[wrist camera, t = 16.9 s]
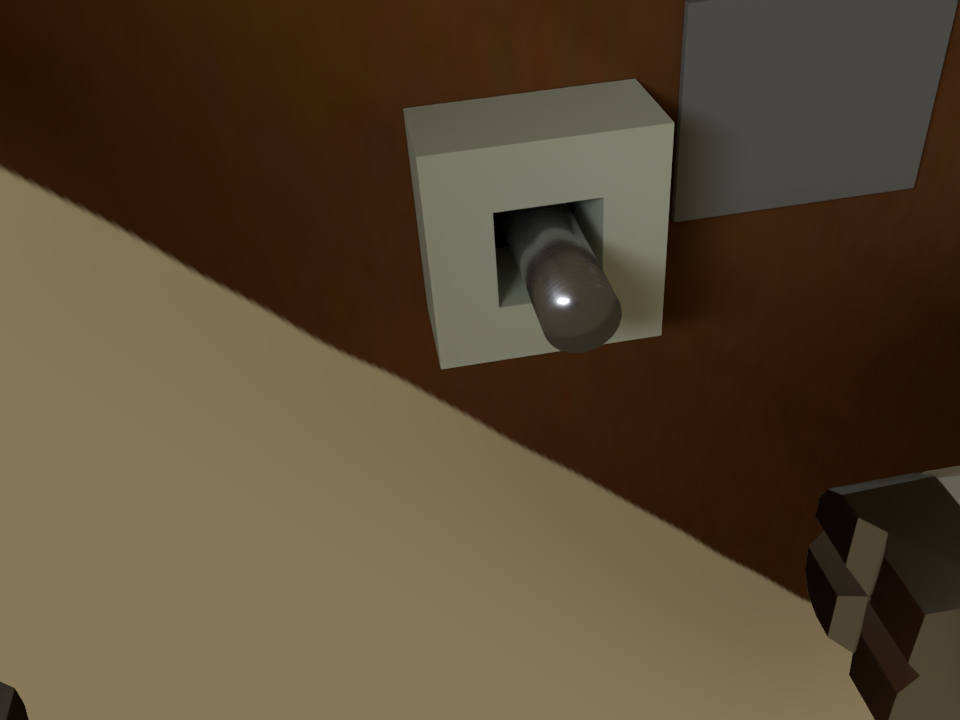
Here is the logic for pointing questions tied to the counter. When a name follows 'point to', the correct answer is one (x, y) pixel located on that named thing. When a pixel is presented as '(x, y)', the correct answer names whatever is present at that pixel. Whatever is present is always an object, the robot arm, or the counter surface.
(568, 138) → the hole block
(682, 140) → the mat
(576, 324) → the steel pin
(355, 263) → the counter surface
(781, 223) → the counter surface
